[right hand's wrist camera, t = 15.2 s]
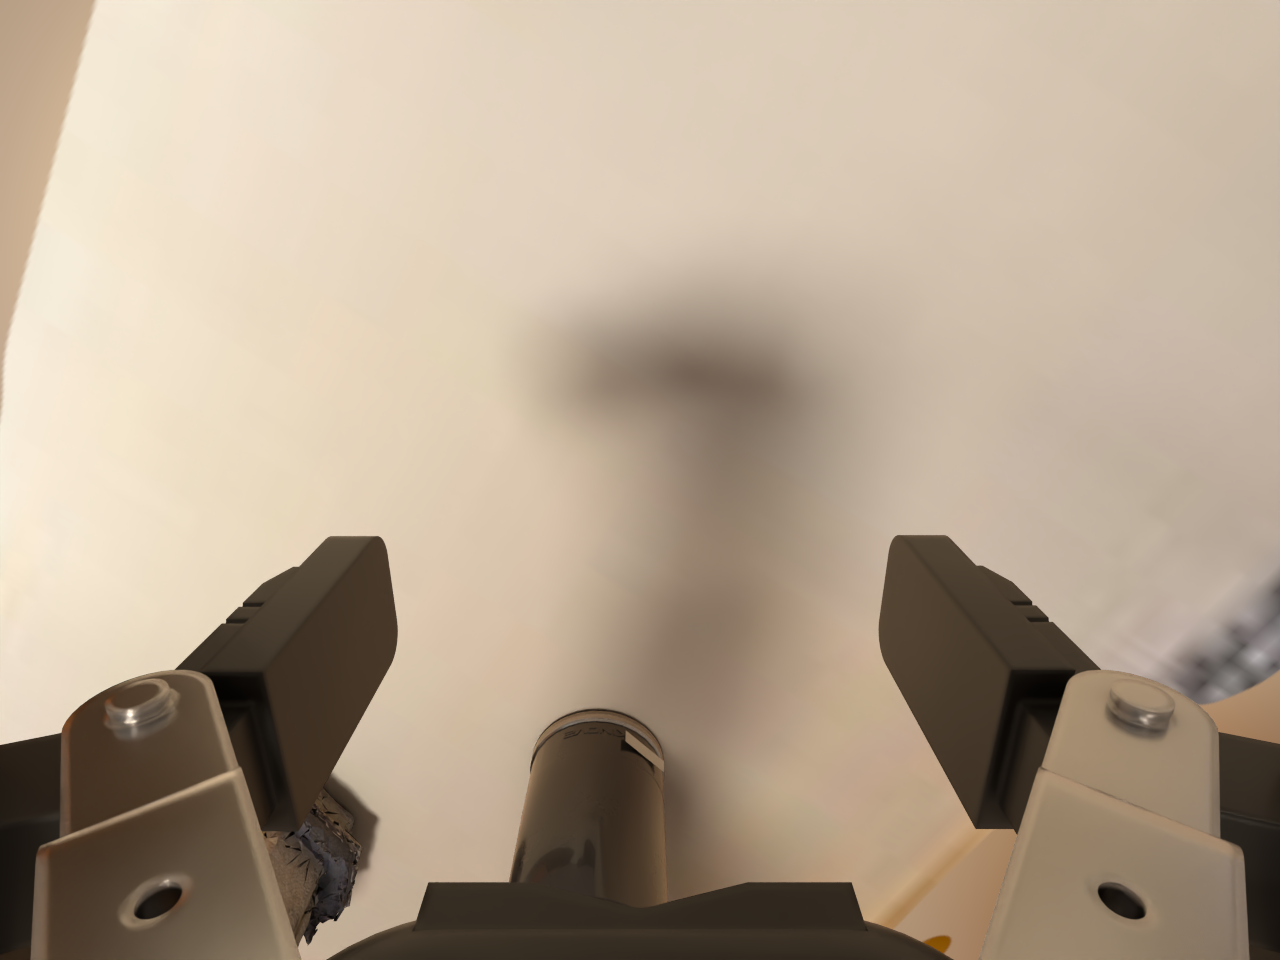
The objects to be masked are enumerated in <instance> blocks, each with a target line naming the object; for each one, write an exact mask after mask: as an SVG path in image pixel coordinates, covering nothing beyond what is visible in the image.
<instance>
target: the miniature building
mask: <svg viewBox="0 0 1280 960" xmlns="http://www.w3.org/2000/svg"><path fill="white" fill-rule="evenodd" d="M319 796H323V797H326V798H324V799H323V800H322V798H323V797H317V799H316V801H315V803H314V805H313V807H312V808H313V809H317V810H316V812H315V814H314V812H313V811H312V809H311V810H310V812H311V813H312V814H311V813H310V812H309V814H308V816H307V817H306V819H305V821H304V823H303V825H302V826H301V828H300V830H299V831H293V832H294V833H295V834H294V835H292V836H291V837H289V838H287V839H285V838H286V837H287V836H288V835H289V834H290V833H291V831H279V832H278V831H261V832H262V835H263V838H264V841H265V844H266V848H267V851H268V854H269V857H270V861H271V864H272V867H273V870H274V873H275V877H276V880H277V883H278V886H279V889H280V893H281V896H282V899H283V902H284V905H285V909H286V912H287V915H288V918H289V922H290V925H291V928H292V931H293V934H294V938H295V941H296V944H297V947H298V946H299V943H300V941H301V938H302V936H303V935H304V936H305V939H306V943H307V944H308V945H309V944H310V943H311V941H312V938H313V936H314V935H315V933H316V932H317V929H316V926H317V925H318V924H319V923H320V922H321V923H324V922H326V921H327V920H330V919H334V921H337V919H338V918H339V916H340V915H341V913H342V912H343V910H344V908H345V907H347V906H350V901H351V895H352V891H351V889H352V888H353V885H354V883H355V880H354V879H355V876H356V873H357V869H358V867H359V866H358V867H356V863H357V864H358V865H359V863H358V862H357V861H359V858H360V854H361V852H362V847H361V845H360V844H359V842H358V841H357V840H356V839H355V838H354V837H353V836H352V827H353V824H354V818H353V816H352V815H351V814H350V813H349V812H348V811H346V810H345V809H344V808H342V807H341V806H340V805H339V804H338V803H337V802H336V801H335V800H334V799H333V798H332V797H331V796H330V795H329V794H328V793H327V792H326V791H325V790H324V789H323V788H322V790H321V792H320V794H319ZM322 803H323V804H324V806H325V807H326V808H327V809H325V808H324V806H323V804H322ZM328 811H330V812H334V813H337V814H326V813H325V812H328ZM313 814H314V815H313ZM348 821H349V823H350V824H349V823H348ZM309 826H310V828H311V829H310V828H309ZM308 829H309V830H310V831H309V832H307V833H305V832H306V831H307V830H308ZM265 832H266V834H267V838H266V837H265V836H264V833H265ZM277 832H278V833H277ZM275 833H276V834H275ZM304 833H305V834H304ZM342 833H343V835H345V836H344V838H343V836H342ZM274 834H275V835H274ZM273 835H274V836H273ZM302 835H304V836H305V837H307V838H308V839H309V840H310V841H309V840H307V839H305V838H304V837H302V838H301V839H300V837H301V836H302ZM275 836H277V837H275ZM270 837H273V838H270ZM345 837H346V838H347V840H346V838H345ZM268 838H269V839H268ZM282 839H283V840H282ZM351 842H352V843H351ZM287 843H288V844H287ZM285 845H287V846H290V848H287V847H285ZM293 848H299V849H300V850H301V851H299V850H296V849H293ZM319 848H320V849H319ZM318 849H319V850H318ZM318 852H319V853H318ZM328 852H330V853H331V854H330V853H328ZM321 853H322V855H321ZM297 855H298V856H297ZM296 856H297V857H296ZM295 857H296V858H295ZM294 858H295V859H294ZM322 858H324V860H323V861H321V862H319V861H320V860H321V859H322ZM293 859H294V861H293V862H291V861H292V860H293ZM308 859H309V860H308ZM306 860H308V861H307V862H306V863H304V864H303V865H302V866H301V867H297V866H298V865H299V864H301V863H302V862H304V861H306ZM309 861H310V863H309ZM335 861H337V863H336V862H335ZM289 862H291V863H290V864H288V863H289ZM318 862H319V863H318ZM323 862H324V863H323ZM308 863H309V868H307V869H306V867H307V865H308ZM317 863H318V864H317ZM352 863H353V864H354V865H351V864H352ZM287 864H288V865H287ZM325 872H326V874H325ZM324 874H325V876H324ZM338 912H339V913H338ZM337 913H338V914H337ZM336 915H337V916H336ZM315 929H316V931H315Z"/></svg>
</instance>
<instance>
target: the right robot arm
mask: <svg viewBox="0 0 1280 960" xmlns="http://www.w3.org/2000/svg"><path fill="white" fill-rule="evenodd" d="M1048 619H1049V618H1048V617H1047V616H1046V615H1045V614H1044V613H1043V612H1042V611H1041V610H1040V609H1039V608H1038V607H1037V606H1033V605H1032V601H1031V600H1030V599H1029V598H1028V597H1027V596H1026V595H1025V594H1024V593H1023V592H1022V591H1021V590H1020V589H1019V588H1018V587H1017V586H1016V585H1015V584H1014V583H1013V582H1011V581H1009V580H1007V579H1006V578H1004V577H1002V576H1000V575H998V574H997V573H995V572H993V571H991V570H989V569H987V568H986V567H984V566H976V565H975V564H974V563H973V562H972V561H971V560H970V559H969V558H968V557H967V556H966V555H965V553H964V552H963V551H962V550H961V549H960V548H959V547H958V546H957V545H956V544H955V543H954V542H953V541H952V540H951V539H950V538H949V537H948V536H945V535H897V536H895V537H894V539H893V540H892V542H891V545H890V549H889V554H888V562H887V569H886V576H885V583H884V590H883V597H882V605H881V612H880V619H879V642H880V648H881V653H882V656H883V659H884V662H885V664H886V666H887V667H888V669H889V671H890V673H891V675H892V676H893V678H894V680H895V682H896V684H897V686H898V687H899V689H900V691H901V693H902V695H903V697H904V698H905V700H906V702H907V704H908V706H909V708H910V709H911V711H912V713H913V715H914V717H915V719H916V720H917V722H918V724H919V726H920V728H921V730H922V731H923V733H924V735H925V737H926V739H927V741H928V742H929V744H930V746H931V748H932V750H933V752H934V753H935V755H936V757H937V759H938V761H939V763H940V764H941V766H942V768H943V770H944V772H945V774H946V775H947V777H948V779H949V781H950V783H951V785H952V786H953V788H954V790H955V792H956V794H957V796H958V797H959V799H960V801H961V803H962V805H963V807H964V808H965V810H966V812H967V814H968V816H969V817H970V819H971V821H972V823H973V825H974V827H975V828H976V829H1014V830H1015V832H1016V834H1017V838H1016V841H1015V844H1014V848H1013V851H1012V854H1011V857H1010V861H1009V864H1008V867H1007V870H1006V873H1005V877H1004V880H1003V883H1002V886H1001V889H1000V893H999V896H998V899H997V902H996V906H995V909H994V912H993V915H992V918H991V922H990V925H989V928H988V931H987V934H986V938H985V941H984V944H983V947H982V950H981V954H980V957H979V960H1280V744H1277V743H1271V742H1266V741H1261V740H1256V739H1251V738H1246V737H1241V736H1236V735H1231V734H1226V733H1220V732H1218V728H1217V726H1216V724H1215V722H1214V721H1213V719H1212V718H1211V717H1210V716H1209V715H1208V713H1207V712H1206V711H1204V710H1203V709H1202V708H1201V707H1200V706H1199V705H1198V704H1196V703H1195V702H1193V701H1192V700H1191V699H1189V698H1188V697H1186V696H1184V695H1183V694H1181V693H1179V692H1177V691H1176V690H1174V689H1172V688H1170V687H1168V686H1165V685H1163V684H1161V683H1158V682H1156V681H1153V680H1150V679H1147V678H1144V677H1141V676H1137V675H1134V674H1130V673H1125V672H1120V671H1111V670H1101V669H1100V668H1099V667H1098V666H1097V665H1096V664H1095V663H1094V662H1093V661H1092V660H1091V659H1090V658H1089V657H1088V656H1087V655H1086V654H1085V653H1084V652H1083V651H1082V650H1081V649H1080V648H1079V647H1078V646H1077V645H1076V644H1075V643H1074V642H1073V641H1071V640H1070V639H1069V638H1068V637H1067V636H1066V635H1065V634H1064V633H1063V632H1062V631H1061V630H1060V629H1059V628H1058V627H1057V626H1056V625H1055V624H1054V623H1053V622H1049V620H1048ZM397 636H398V627H397V618H396V611H395V604H394V597H393V590H392V582H391V575H390V568H389V561H388V554H387V549H386V546H385V543H384V541H383V540H382V538H381V537H379V536H330V537H328V538H327V539H326V540H325V541H324V542H323V543H322V544H321V545H320V546H319V547H318V548H317V549H316V550H315V551H314V552H313V553H312V554H311V555H310V556H309V557H308V558H307V559H306V560H305V561H304V562H303V563H302V564H301V565H300V567H292V568H290V569H289V570H287V571H285V572H283V573H281V574H279V575H277V576H276V577H274V578H272V579H270V580H268V581H266V582H265V583H263V584H262V585H261V586H260V587H259V588H258V589H257V590H256V591H255V592H254V593H253V594H252V595H251V596H250V597H248V598H247V599H246V600H245V601H244V602H243V607H238V608H237V609H236V610H235V611H234V612H233V613H232V614H231V615H230V616H229V617H228V618H227V619H226V624H221V625H220V626H219V627H218V628H217V629H216V630H215V631H214V632H213V633H212V634H211V635H210V636H209V637H208V638H207V639H206V640H205V641H204V642H203V643H202V644H200V645H199V646H198V647H197V648H196V649H195V650H194V651H193V652H192V653H191V654H190V655H189V656H188V657H187V658H186V659H185V660H184V661H183V662H182V663H181V664H180V665H179V666H178V667H177V668H176V669H175V670H169V671H160V672H155V673H150V674H146V675H143V676H139V677H136V678H133V679H130V680H127V681H124V682H122V683H119V684H117V685H115V686H112V687H110V688H108V689H106V690H104V691H103V692H101V693H99V694H97V695H96V696H94V697H92V698H91V699H89V700H88V701H87V702H85V703H84V704H82V705H81V706H80V707H79V708H78V709H77V710H76V711H74V712H73V713H72V715H71V716H70V717H69V718H68V719H67V721H66V722H65V724H64V726H63V728H62V733H59V734H54V735H49V736H44V737H39V738H34V739H29V740H24V741H19V742H14V743H9V744H4V745H0V960H301V957H300V954H299V950H298V947H297V944H296V941H295V938H294V934H293V931H292V928H291V925H290V922H289V918H288V915H287V912H286V909H285V905H284V902H283V899H282V896H281V893H280V889H279V886H278V883H277V880H276V877H275V873H274V870H273V867H272V864H271V861H270V857H269V854H268V851H267V848H266V844H265V841H264V838H263V835H262V832H261V831H299V830H300V828H301V826H302V825H303V823H304V821H305V819H306V817H307V816H308V814H309V812H310V810H311V808H312V807H313V805H314V803H315V801H316V799H317V797H318V796H319V794H320V792H321V790H322V788H323V787H324V785H325V783H326V781H327V779H328V778H329V776H330V774H331V772H332V770H333V769H334V767H335V765H336V763H337V761H338V760H339V758H340V756H341V754H342V752H343V750H344V749H345V747H346V745H347V743H348V741H349V740H350V738H351V736H352V734H353V732H354V731H355V729H356V727H357V725H358V723H359V722H360V720H361V718H362V716H363V714H364V712H365V711H366V709H367V707H368V705H369V703H370V702H371V700H372V698H373V696H374V694H375V693H376V691H377V689H378V687H379V685H380V684H381V682H382V680H383V678H384V676H385V675H386V673H387V671H388V669H389V667H390V665H391V663H392V661H393V658H394V655H395V651H396V646H397ZM663 781H664V759H663V754H662V750H661V748H660V745H659V743H658V742H657V740H656V739H655V737H654V736H653V735H652V734H651V732H650V731H649V730H648V729H646V728H645V727H644V726H643V725H641V724H640V723H638V722H637V721H635V720H633V719H631V718H629V717H627V716H624V715H621V714H618V713H613V712H607V711H586V712H580V713H576V714H572V715H569V716H567V717H564V718H562V719H560V720H559V721H557V722H555V723H554V724H552V725H551V726H550V727H549V728H548V729H547V730H546V731H545V732H544V733H543V734H542V735H541V737H540V738H539V740H538V741H537V743H536V745H535V748H534V751H533V756H532V761H531V767H530V779H529V784H528V789H527V793H526V798H525V803H524V808H523V813H522V818H521V823H520V828H519V833H518V838H517V843H516V849H515V854H514V859H513V864H512V869H511V874H510V879H509V882H428V885H427V889H426V892H425V895H424V898H423V901H422V904H421V908H420V911H419V914H418V917H417V920H416V921H413V922H409V923H405V924H402V925H399V926H396V927H393V928H391V929H388V930H385V931H382V932H379V933H377V934H374V935H372V936H370V937H368V938H366V939H364V940H362V941H360V942H357V943H355V944H353V945H351V946H349V947H347V948H346V949H344V950H342V951H340V952H339V953H337V954H335V955H334V956H332V957H330V958H329V959H327V960H953V959H951V958H950V957H948V956H946V955H945V954H943V953H941V952H940V951H938V950H936V949H934V948H933V947H931V946H929V945H927V944H925V943H923V942H920V941H918V940H916V939H914V938H912V937H910V936H908V935H906V934H903V933H901V932H898V931H895V930H892V929H889V928H887V927H884V926H881V925H878V924H875V923H871V922H867V921H864V920H863V917H862V914H861V911H860V908H859V904H858V901H857V898H856V895H855V892H854V889H853V886H852V882H748V883H744V884H740V885H736V886H731V887H727V888H723V889H719V890H715V891H711V892H707V893H703V894H699V895H695V896H691V897H687V898H683V899H679V900H675V901H671V902H668V897H667V872H666V847H665V822H664V792H663Z"/></svg>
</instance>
